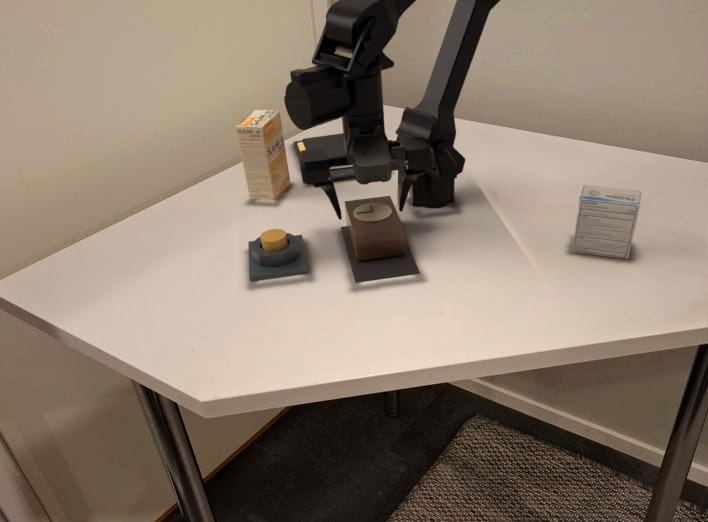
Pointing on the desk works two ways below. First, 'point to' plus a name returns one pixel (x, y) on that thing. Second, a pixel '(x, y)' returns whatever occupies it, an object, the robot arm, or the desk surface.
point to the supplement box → (263, 154)
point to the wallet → (332, 146)
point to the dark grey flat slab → (379, 263)
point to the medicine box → (606, 221)
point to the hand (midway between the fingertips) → (370, 214)
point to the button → (274, 240)
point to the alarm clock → (375, 228)
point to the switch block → (277, 259)
